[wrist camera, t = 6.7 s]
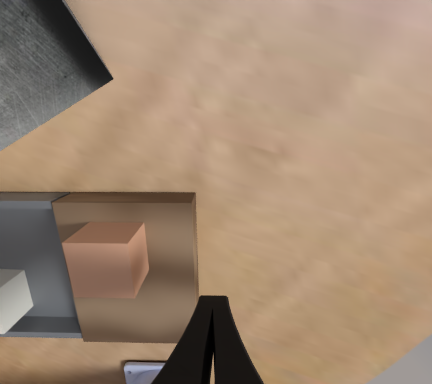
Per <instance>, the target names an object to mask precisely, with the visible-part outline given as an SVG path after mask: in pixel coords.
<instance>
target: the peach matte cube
mask: <svg viewBox="0 0 432 384" xmlns="http://www.w3.org/2000/svg"><path fill="white" fill-rule="evenodd" d="M62 246H63V250H64V255H65V259H66V263H67V268H68V272H69V276H70V281H71V285H72V289H73V294H74V297H77V298H135V297H136V295H137V293H138V291H139V289H140V287H141V285H142V283H143V281H144V279H145V277H146V275H147V273H148V271H149V264H148V254H147V245H146V236H145V226H144V222H89V223H88V224H87V225H85V226H84V227H83V228H81V229H80V230H79V231H77V232H76V233H75V234H73V235H72V236H71V237H69V238H68V239H67V240H65V241H64V242H63V243H62Z"/></svg>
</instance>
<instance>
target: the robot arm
mask: <svg viewBox="0 0 432 384" xmlns="http://www.w3.org/2000/svg"><path fill="white" fill-rule="evenodd" d="M213 353H214V374H215V384H264V383H263V381H262V379H261V378H260V376H259V374H258V372H257V370H256V369H255V367H254V365H253V363H252V361H251V359H250V357H249V355H248V353H247V351H246V349H245V347H244V344H243V342H242V340H241V338H240V335H239V333H238V330H237V328H236V325H235V322H234V319H233V316H232V313H231V310H230V306H229V301H228V297H227V296H203V295H201V296H200V297H199V299H198V303H197V305H196V308H195V310H194V313H193V315H192V317H191V319H190V321H189V323H188V325H187V327H186V329H185V331H184V333H183V335H182V337H181V338H180V340H179V342H178V344H177V345H176V347H175V349H174V350H173V352H172V354H171V355H170V357H169V358H168V360H167V361H166V363H152V362H127V363H126V364H125V366H124V373H125V379H126V384H210V377H211V368H212V359H213Z"/></svg>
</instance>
